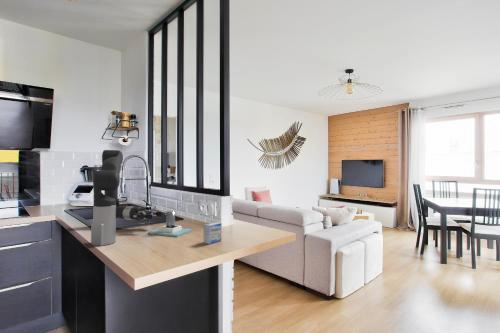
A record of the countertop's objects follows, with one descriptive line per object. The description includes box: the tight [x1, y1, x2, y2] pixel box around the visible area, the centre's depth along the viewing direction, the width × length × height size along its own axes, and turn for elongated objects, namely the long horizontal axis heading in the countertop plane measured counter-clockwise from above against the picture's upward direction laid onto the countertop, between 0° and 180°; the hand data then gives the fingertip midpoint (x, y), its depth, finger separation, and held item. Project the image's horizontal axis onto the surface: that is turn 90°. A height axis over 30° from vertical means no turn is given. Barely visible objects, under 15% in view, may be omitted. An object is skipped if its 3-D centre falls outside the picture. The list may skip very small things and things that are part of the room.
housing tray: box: [147, 224, 193, 238], centre depth 149 cm, size 14×18×3 cm
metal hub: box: [165, 210, 176, 229], centre depth 150 cm, size 4×4×10 cm
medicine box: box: [202, 221, 222, 245], centre depth 132 cm, size 8×4×9 cm, turn 143°
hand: (157, 215), depth 152 cm, fingers open, 8 cm apart
